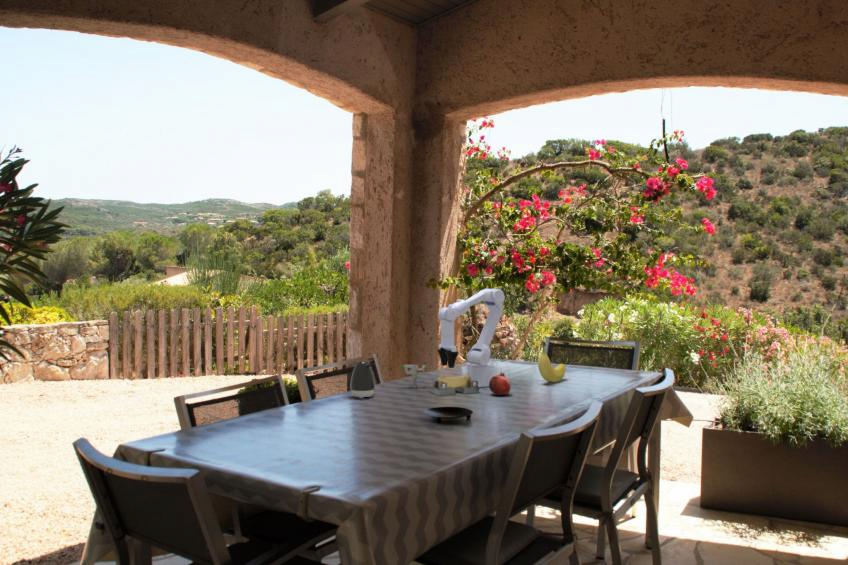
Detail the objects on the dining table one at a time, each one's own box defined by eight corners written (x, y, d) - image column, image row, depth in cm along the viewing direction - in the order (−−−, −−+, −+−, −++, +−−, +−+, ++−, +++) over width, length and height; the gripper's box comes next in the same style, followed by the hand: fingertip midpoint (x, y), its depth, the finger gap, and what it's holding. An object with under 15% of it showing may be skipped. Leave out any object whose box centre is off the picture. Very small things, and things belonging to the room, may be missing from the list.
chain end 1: (446, 390, 305) (446, 379, 305) (455, 394, 296) (455, 382, 296) (431, 392, 303) (431, 380, 303) (439, 396, 294) (439, 384, 294)
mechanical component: (426, 388, 312) (426, 365, 311) (402, 388, 312) (402, 365, 311) (426, 387, 315) (426, 364, 314) (403, 387, 315) (403, 364, 314)
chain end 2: (469, 389, 309) (469, 377, 309) (479, 393, 300) (479, 381, 300) (454, 390, 307) (454, 378, 307) (464, 394, 298) (464, 382, 298)
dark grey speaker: (360, 400, 285) (360, 362, 285) (345, 397, 293) (345, 360, 292) (380, 397, 292) (380, 360, 291) (365, 393, 300) (365, 357, 299)
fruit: (486, 396, 293) (485, 372, 293) (492, 392, 302) (492, 368, 302) (507, 397, 290) (507, 373, 289) (513, 393, 298) (513, 370, 298)
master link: (468, 385, 305) (468, 374, 305) (471, 386, 302) (471, 375, 302) (438, 387, 300) (437, 376, 300) (440, 388, 298) (440, 377, 297)
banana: (558, 378, 336) (558, 336, 336) (569, 379, 333) (569, 336, 332) (535, 385, 318) (535, 340, 317) (547, 386, 315) (547, 341, 314)
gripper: (432, 334, 314) (433, 364, 314) (445, 337, 300) (445, 369, 301) (447, 333, 316) (447, 363, 317) (460, 336, 303) (461, 368, 303)
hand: (447, 366), depth 309 cm, fingers open, 7 cm apart
